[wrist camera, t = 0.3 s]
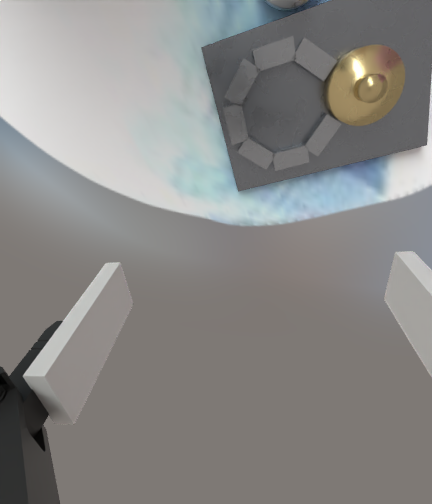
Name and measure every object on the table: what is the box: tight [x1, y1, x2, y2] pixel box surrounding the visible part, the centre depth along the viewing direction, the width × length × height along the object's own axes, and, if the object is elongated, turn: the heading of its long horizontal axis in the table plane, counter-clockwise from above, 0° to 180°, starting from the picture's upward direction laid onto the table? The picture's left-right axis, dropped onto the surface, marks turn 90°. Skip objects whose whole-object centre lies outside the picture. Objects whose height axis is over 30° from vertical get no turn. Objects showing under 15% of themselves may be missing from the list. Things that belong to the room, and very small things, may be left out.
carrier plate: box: [201, 0, 432, 191], centre depth 32 cm, size 16×22×3 cm
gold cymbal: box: [324, 45, 405, 126], centre depth 29 cm, size 7×7×4 cm
